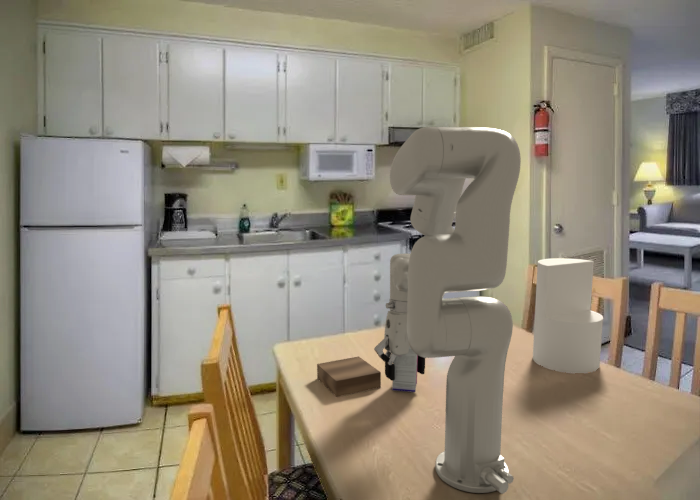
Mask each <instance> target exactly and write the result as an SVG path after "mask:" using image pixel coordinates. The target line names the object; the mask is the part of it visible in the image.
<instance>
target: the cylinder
mask: <svg viewBox="0 0 700 500" xmlns="http://www.w3.org/2000/svg"><path fill="white" fill-rule="evenodd" d="M594 262H595V261H594V260H591V259H590V260H589V259H580V258H568V257H567V258H566V257H565V258H562V257H558V258H557V257H555V258H554V257H553V258H551V257H550V258H543V259H539V260H538V261H537V268H536V269H537V270H536V271H537V272H536V287H535V307H534V308H535V309H534V322H533V323H534V325H533V327H534V329H533V345H532V346H533V347H532V359H533V362H534V363H535V364H537V365H539V366H540V365H541V366H540V367H542V366H543V367H542V368H545V369H548V370H550V371H554V370H555V371H556V372H559V373H565V372H566V374H575V373H584V374H589V373H588V372H591V373H594V372H596V370H597V369H598V368H599V369H600V364H601V353H602V351H601V349H602V338H603V337H602V336H603V324H604V323H603V322H604V315H602V314H601V313H599V312H597V311H593V310H591V306H592V296H593V295H592V292H593V278H594V264H595V263H594ZM599 369H598V370H599ZM598 370H597V371H598ZM593 371H594V372H593Z"/></svg>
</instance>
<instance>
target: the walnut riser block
mask: <svg viewBox="0 0 700 500" xmlns="http://www.w3.org/2000/svg"><path fill="white" fill-rule="evenodd" d="M316 373H317V374H316V376H317V377H316V379H317V380H318V381H319V382H320V383H321V384H322V385H324V387H325V388H327V390H328V391H330V393H332V394H333V396H335V397H336V398H338V397H344V396H348V395H351V394H352V395H353V394H356V393H361V392H366V391H371V390H376V389H381V388H382V387H381V385H382V384H381V383H382V382H381V380H382V378H381V377H382V374H381V370H379V369H377V368H376V367H374V366H373V365H372V364H370V363H369V362H367V361H366V360H365V359H363V358H361V357H360V356H354V357H353V356H352V357H347V358H343V359H337V360H331V361H326V362H320V363H317V364H316Z"/></svg>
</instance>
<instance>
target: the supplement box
mask: <svg viewBox="0 0 700 500" xmlns="http://www.w3.org/2000/svg"><path fill="white" fill-rule="evenodd" d="M393 364H394V365H395V380H393V381H392V385H391V386H392V387H391V390H392V391H393V392H394V391H395V392H408V393H416V391H417V390H416V389H417V385H418V372H417V365H418V355H417V354H415V353H414V352H413V350H412V349H411V347H410V346H409V351H408V354H406V355H399V356H396V358H395V359H394V361H393Z"/></svg>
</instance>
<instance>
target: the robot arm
mask: <svg viewBox="0 0 700 500" xmlns="http://www.w3.org/2000/svg"><path fill="white" fill-rule="evenodd" d="M389 171H390V172H389V182H390V183H389V184H390V187H391V189H392V191H393V193H395V194H397V196H398V195H399V196H415V198H414V201H413V206H412V210H411V214H410V223H411V226H412V228H414V230H415V231H416V232H418V233H420V234H421V235H423V236H422V237H420V238H419V239H417V241H415V243H414V244H413V246H412V249H411V250H410V251H411V252H410V253H396V254H394V255H392V256H391V257H390V260H389V301H388V302H386V303H385V308H386V309H388V311H387V314H386V319H385V326H384V337H383V339H382V340H381V341H380V342H379V343H378V344H377V345H376V346H374V348H373V349H374V352H375V353H376V354H377V355H378V357H379V358H380V359H381V360H382V361H383V362H384V375H385V377H386V378H387V379H388V380H390V381H392V382H393V380H395V365H394V364H393V361H394V359H395V358H396V356H399V355H406V354H408V351H409V346H410V347H411V349H412V350H413V352H414V353H415V354H417V355H418V365H417V373H418V374H421V375H425V373H426V372H425V371H426V370H425V369H426V359H427V358H428V359H429V358H430V359H435V358H447V357H448V358H449V357H453V359H452V361H451V362H450V365H449V366H448V371H447V373H446V383H445V421H444V422H445V425H444V451H442V452H440V453H439V454H438V455H437V457H436V459H435V463H434V464H435V472H436V474H437V476H438V477H439V478H440V479H441V480H442V481H443V482H444V483H445V484H447V485H449V486H450V487H453V488H455V489H458V490H460V491H462V492H468V493H473V494H475V493H476V494H487V493H492V492H496V491H498V492H499V493H500V494H502V495H503V494H505V493H507V491H508V490H509V484H512V483H513V481H514V479H515V478H514V476H513V475H512V474H511V473H510V471H509V470H510V469H509V467H508V465H507V463H506V461H505V457H503V456H502V454H501V448H502V427H503V426H502V423H503V401H504V388H505V387H504V386H505V385H504V382H505V381H504V380H505V371H506V370H505V369H506V362H507V356H508V350H509V347H510V343H511V339H512V336H513V328H514V327H513V325H514V323H513V316H512V313H511V311H510V309H509V307H508V306H507V305H506V304H505V303H504V302H503V301H501V300H500V299H498V298H494V297H491V296H486V295H485V296H484V295H483V296H482V295H479V296H474V295H473V296H464V297H463V296H460V297H459V296H458V297H451V298H450V297H448V298H444V296H445V294H447V293H448V294H449V293H464V292H465V293H466V292H477V291H478V292H480V291H487V290H492V289H495V288H498V287H499V286H500V285H502V284H503V282H504V280H505V276H506V272H507V265H508V251H509V236H510V222H511V221H510V220H511V219H510V217H511V207H512V203H513V198H514V195H515V191H516V189H517V185H518V181H519V177H520V172H521V151H520V148H519V145H518V142H517V141H516V139H515V138H514V136H513V135H512V134H511V133H509V132H507V131H505V130H501V129H498V128H494V127H483V126H482V127H480V126H479V127H478V126H426V127H424V126H423V127H420V128H417V129H416V130H414V131H413V132H412V133H411V134H410V136H409V137H408V138H407V139H406V140H405V142H403V144H402V145H401V146H400V148H398V150H397V152H396V154H395V156H394V158H393V160H392V163H391V166H390V170H389ZM466 179H473V180H472V181H471V182H470V183H469V184H468V186H467V187H466V188H465V189H464V191H463V188H464V184H465V181H466ZM462 191H463V193H462ZM454 219H455V223H454V227H453V226H452V225H453V222H454ZM384 350H385V352H384Z"/></svg>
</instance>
